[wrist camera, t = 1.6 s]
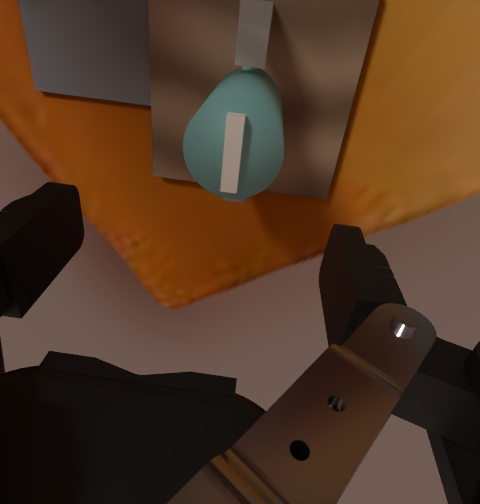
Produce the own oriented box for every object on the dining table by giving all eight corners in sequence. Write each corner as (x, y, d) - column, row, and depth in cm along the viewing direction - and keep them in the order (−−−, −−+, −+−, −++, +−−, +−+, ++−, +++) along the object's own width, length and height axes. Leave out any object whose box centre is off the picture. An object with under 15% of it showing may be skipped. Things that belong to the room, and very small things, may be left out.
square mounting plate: (152, -46, 25) (108, -65, 19) (380, -16, 25) (416, -25, 19) (156, 171, 34) (127, 210, 28) (325, 194, 34) (336, 238, 28)
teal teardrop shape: (217, 30, 23) (181, 42, 14) (292, 39, 23) (302, 58, 14) (209, 160, 28) (178, 229, 19) (271, 168, 28) (269, 242, 19)
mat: (10, -64, 26) (5, -66, 25) (152, -46, 25) (149, -47, 25) (39, 89, 31) (35, 90, 31) (155, 104, 31) (153, 106, 31)
